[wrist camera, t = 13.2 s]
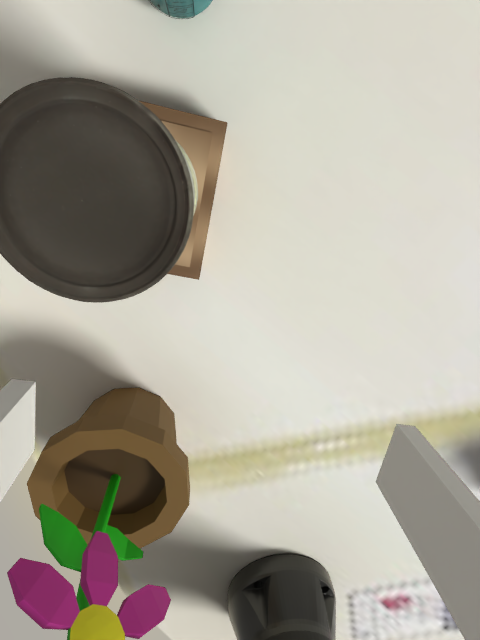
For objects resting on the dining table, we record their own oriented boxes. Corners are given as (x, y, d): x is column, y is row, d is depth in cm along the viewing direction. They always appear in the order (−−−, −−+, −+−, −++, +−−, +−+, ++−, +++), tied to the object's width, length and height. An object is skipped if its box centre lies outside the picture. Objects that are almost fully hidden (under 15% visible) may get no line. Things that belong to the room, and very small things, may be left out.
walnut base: (199, 269, 39) (198, 280, 35) (64, 243, 37) (47, 251, 33) (225, 128, 34) (227, 122, 30) (73, 90, 33) (54, 79, 29)
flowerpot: (219, 420, 45) (238, 823, 17) (140, 494, 48) (46, 941, 20) (120, 345, 41) (-69, 715, 13) (40, 430, 44) (-258, 885, 16)
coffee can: (131, 276, 34) (82, 339, 21) (43, 175, 31) (-81, 175, 18) (224, 203, 33) (235, 223, 19) (142, 89, 29) (88, 19, 16)
